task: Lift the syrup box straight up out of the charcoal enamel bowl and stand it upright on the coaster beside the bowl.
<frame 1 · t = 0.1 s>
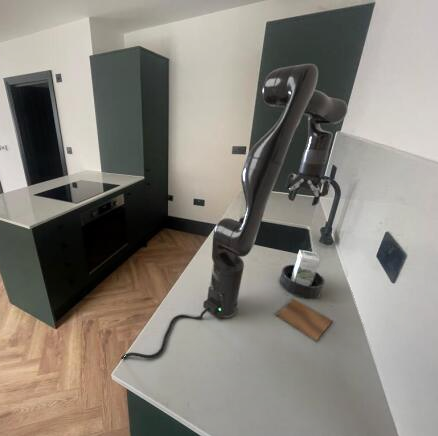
hand: (301, 202, 92), 29 cm above the worktop, tool pointing down, fingers open, 8 cm apart
coaster: (303, 318, 76), on the worktop
syrup box: (299, 286, 90), resting on bowl
bowl: (298, 286, 90), on the worktop
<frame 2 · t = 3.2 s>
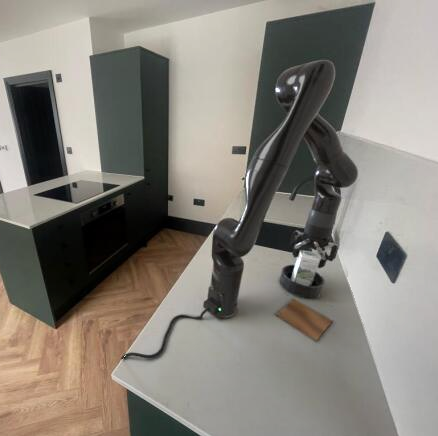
hand: (307, 261, 85), 12 cm above the worktop, tool pointing down, fingers closed on syrup box, 8 cm apart
syrup box: (299, 286, 90), resting on bowl, touching gripper
when the fingers open (11 cm above the worktop, at t = 10.6 s): syrup box stays where it is, resting on coaster.
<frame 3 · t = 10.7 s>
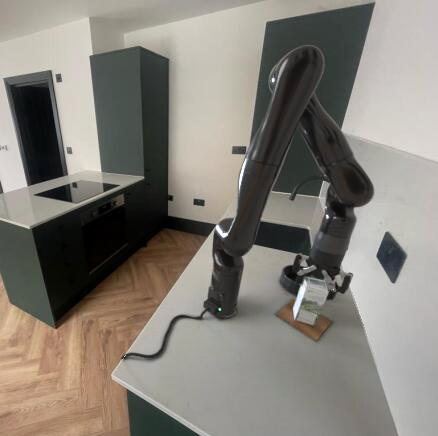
hand: (313, 291, 71), 11 cm above the worktop, tool pointing down, fingers open, 8 cm apart
syrup box: (303, 318, 76), resting on coaster
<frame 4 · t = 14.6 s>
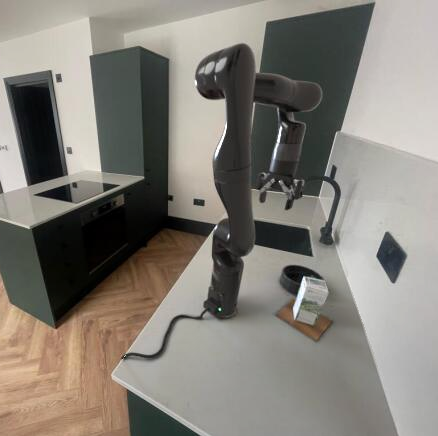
hand: (274, 206, 79), 33 cm above the worktop, tool pointing down, fingers open, 8 cm apart
nothing on the worktop moved.
at the end: syrup box inside the target area on the coaster (0.1 cm from its centre), point 0.1 cm above the coaster's base; syrup box tilted 0°; the gripper is holding nothing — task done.
